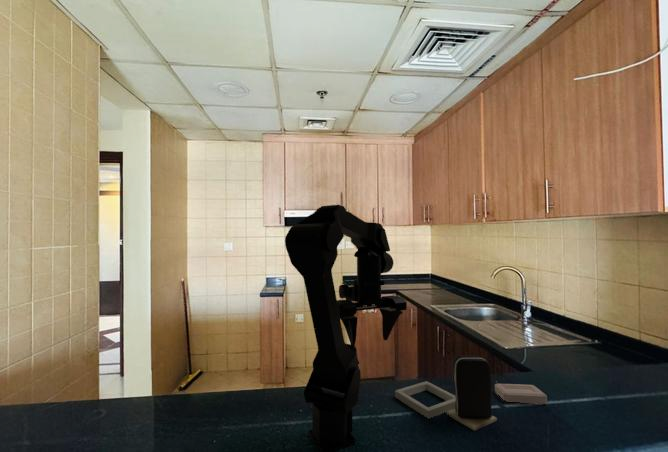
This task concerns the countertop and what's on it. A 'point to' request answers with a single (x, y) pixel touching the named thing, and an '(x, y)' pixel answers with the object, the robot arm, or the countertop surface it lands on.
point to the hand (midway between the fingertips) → (369, 342)
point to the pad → (471, 420)
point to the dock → (422, 409)
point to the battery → (472, 386)
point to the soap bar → (520, 393)
